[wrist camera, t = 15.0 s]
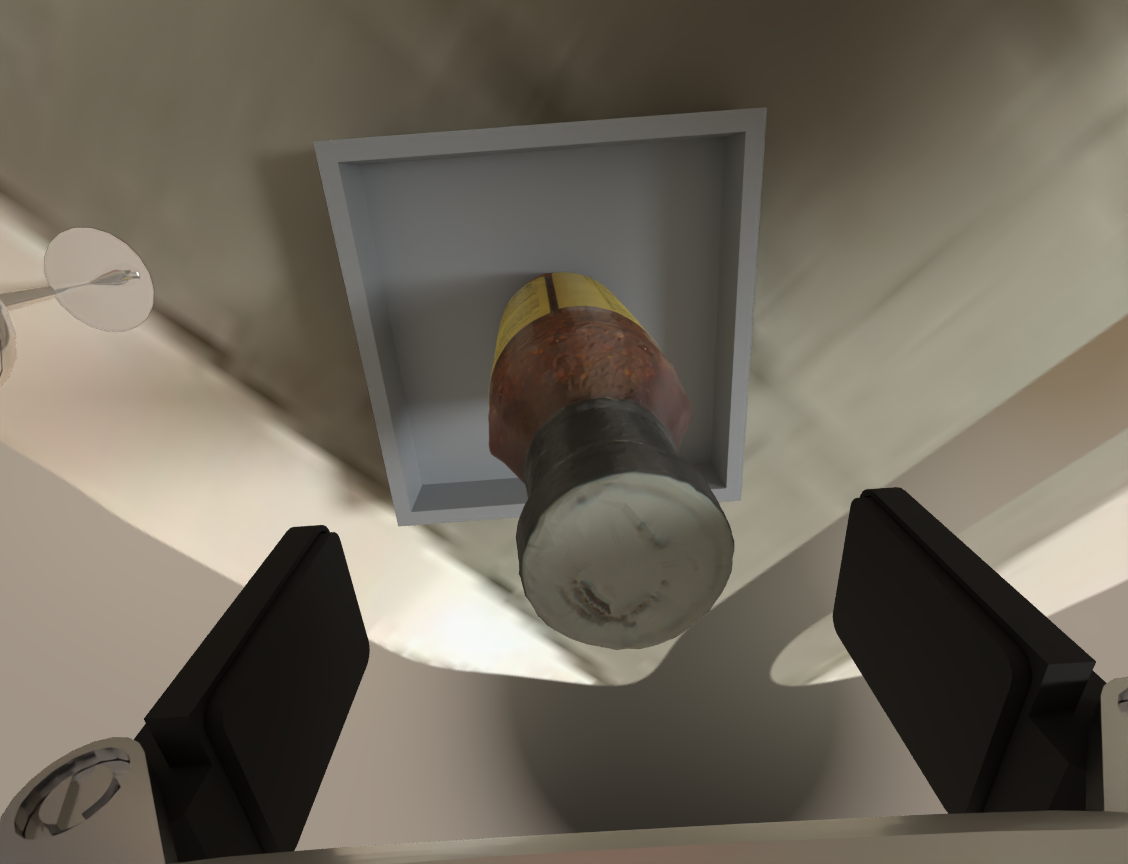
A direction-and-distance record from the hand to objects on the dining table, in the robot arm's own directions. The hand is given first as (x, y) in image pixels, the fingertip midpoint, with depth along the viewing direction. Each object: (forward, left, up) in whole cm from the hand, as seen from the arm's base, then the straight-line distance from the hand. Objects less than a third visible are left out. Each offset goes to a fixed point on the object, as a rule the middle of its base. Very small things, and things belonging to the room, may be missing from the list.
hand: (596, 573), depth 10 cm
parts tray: (0, 0, -20) cm, 20 cm away
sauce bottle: (0, 0, -20) cm, 20 cm away
